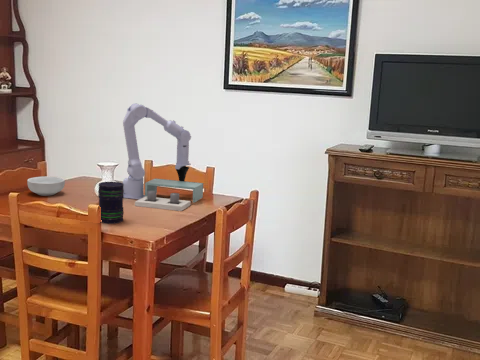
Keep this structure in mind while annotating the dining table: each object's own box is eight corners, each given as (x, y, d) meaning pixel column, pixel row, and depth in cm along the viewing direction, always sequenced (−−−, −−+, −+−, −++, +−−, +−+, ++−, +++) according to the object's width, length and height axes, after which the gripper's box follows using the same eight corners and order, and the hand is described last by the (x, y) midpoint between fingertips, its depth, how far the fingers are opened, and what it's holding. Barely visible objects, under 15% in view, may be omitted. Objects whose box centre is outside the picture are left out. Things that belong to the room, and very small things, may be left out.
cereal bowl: (20, 193, 267) (20, 178, 265) (52, 189, 279) (52, 174, 278) (39, 199, 256) (39, 184, 255) (72, 194, 268) (71, 180, 267)
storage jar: (127, 222, 225) (127, 185, 222) (103, 224, 220) (103, 187, 217) (118, 216, 233) (118, 180, 231) (94, 218, 228) (94, 182, 225)
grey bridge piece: (144, 197, 266) (145, 182, 265) (155, 192, 278) (155, 178, 277) (194, 202, 261) (195, 187, 259) (202, 197, 272) (203, 183, 271)
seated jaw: (168, 207, 253) (168, 194, 252) (171, 205, 257) (172, 192, 256) (177, 208, 252) (177, 195, 251) (180, 206, 256) (180, 193, 255)
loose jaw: (145, 204, 256) (145, 191, 255) (149, 203, 260) (149, 190, 259) (153, 205, 255) (154, 192, 254) (157, 204, 259) (157, 191, 258)
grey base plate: (134, 205, 253) (134, 201, 252) (145, 200, 264) (145, 196, 264) (181, 211, 248) (181, 206, 247) (190, 205, 259) (190, 201, 259)
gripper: (185, 156, 267) (184, 184, 270) (195, 153, 281) (194, 179, 284) (171, 155, 269) (170, 183, 272) (181, 151, 283) (181, 178, 285)
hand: (181, 181), depth 278 cm, fingers closed
